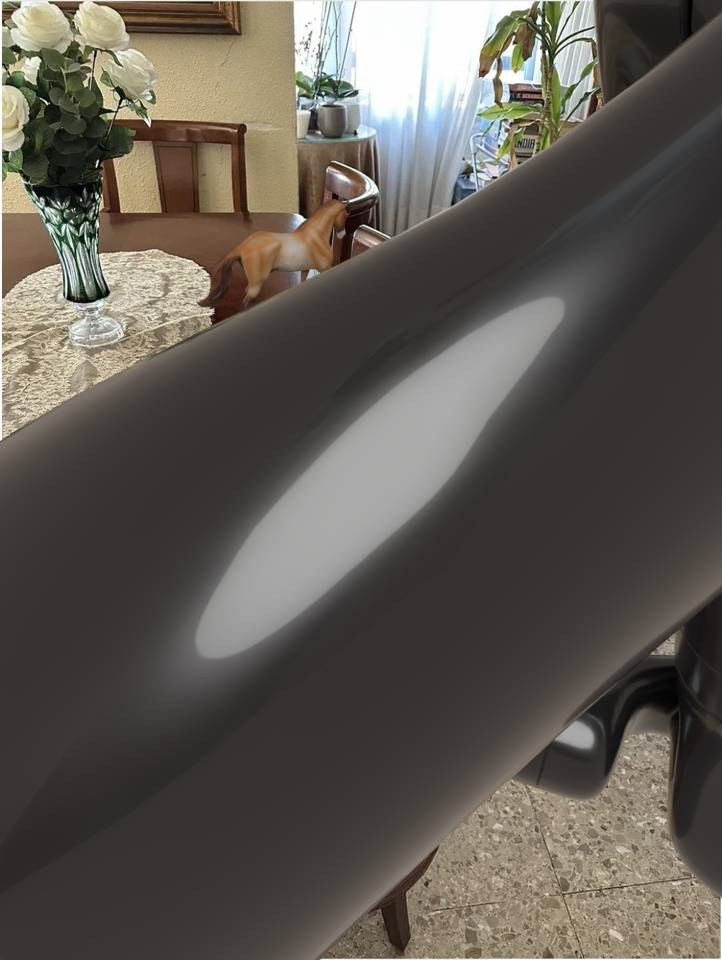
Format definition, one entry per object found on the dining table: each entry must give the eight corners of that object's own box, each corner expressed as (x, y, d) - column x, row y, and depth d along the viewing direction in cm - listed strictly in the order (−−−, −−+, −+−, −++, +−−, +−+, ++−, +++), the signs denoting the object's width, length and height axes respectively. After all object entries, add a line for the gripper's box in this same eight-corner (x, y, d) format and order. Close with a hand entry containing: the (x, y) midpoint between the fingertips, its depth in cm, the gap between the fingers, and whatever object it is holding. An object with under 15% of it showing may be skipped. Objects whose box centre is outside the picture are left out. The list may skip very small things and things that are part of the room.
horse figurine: (343, 302, 135) (344, 195, 123) (364, 314, 130) (367, 204, 118) (199, 332, 121) (184, 214, 109) (216, 347, 116) (202, 225, 104)
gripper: (451, 535, 38) (204, 474, 43) (366, 742, 27) (45, 630, 32) (439, 625, 43) (216, 561, 47) (362, 835, 32) (80, 725, 36)
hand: (148, 589), depth 39 cm, fingers closed on syrup box, 7 cm apart
